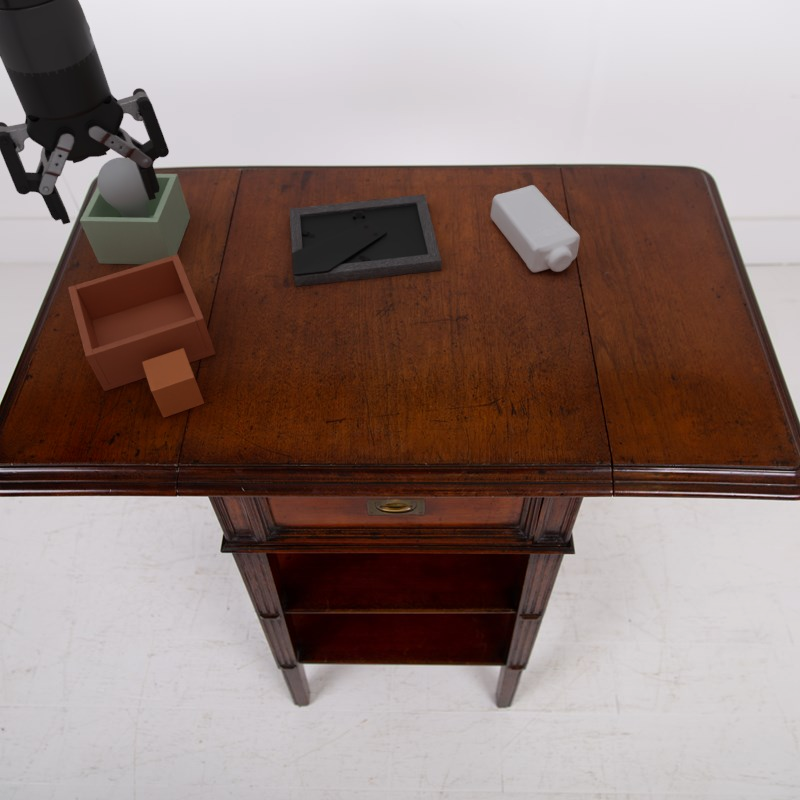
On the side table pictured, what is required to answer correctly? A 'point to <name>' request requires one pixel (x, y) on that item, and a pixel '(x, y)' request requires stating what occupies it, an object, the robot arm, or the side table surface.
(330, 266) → the picture frame
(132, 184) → the lightbulb
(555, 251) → the white bottle
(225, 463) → the side table surface
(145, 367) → the block
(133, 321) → the terracotta bin
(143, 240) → the sage bin
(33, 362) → the side table surface
